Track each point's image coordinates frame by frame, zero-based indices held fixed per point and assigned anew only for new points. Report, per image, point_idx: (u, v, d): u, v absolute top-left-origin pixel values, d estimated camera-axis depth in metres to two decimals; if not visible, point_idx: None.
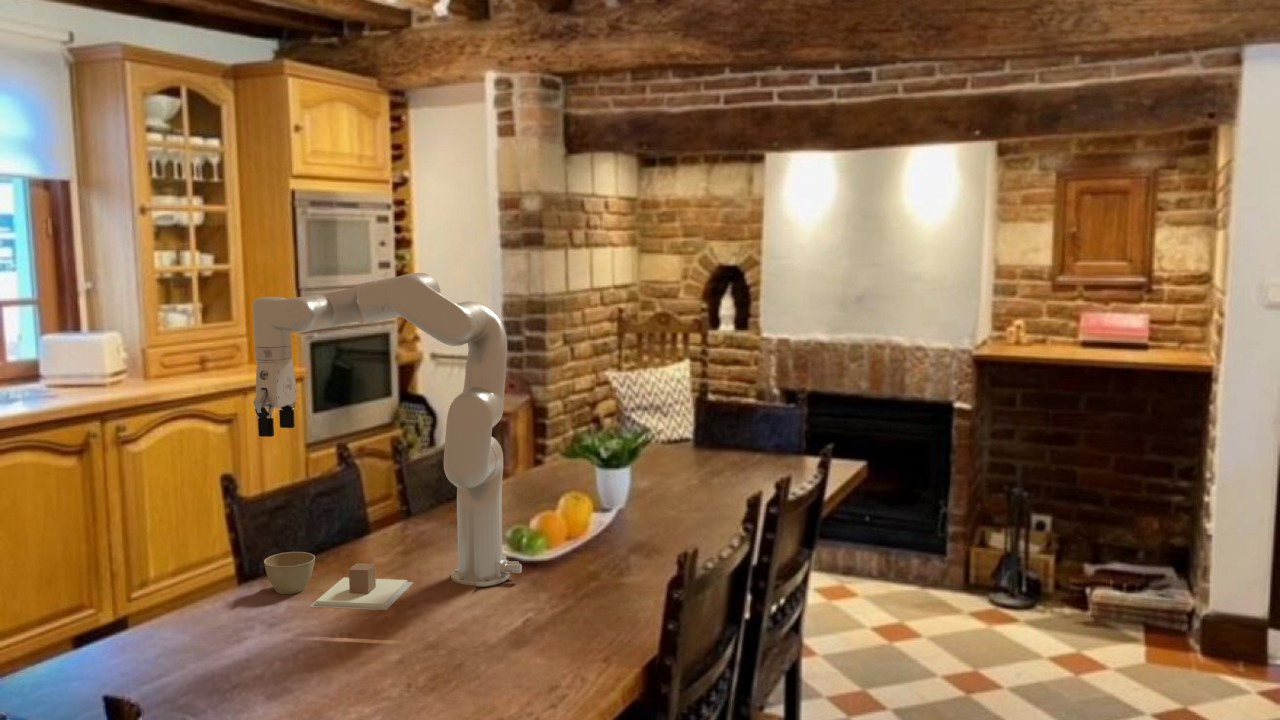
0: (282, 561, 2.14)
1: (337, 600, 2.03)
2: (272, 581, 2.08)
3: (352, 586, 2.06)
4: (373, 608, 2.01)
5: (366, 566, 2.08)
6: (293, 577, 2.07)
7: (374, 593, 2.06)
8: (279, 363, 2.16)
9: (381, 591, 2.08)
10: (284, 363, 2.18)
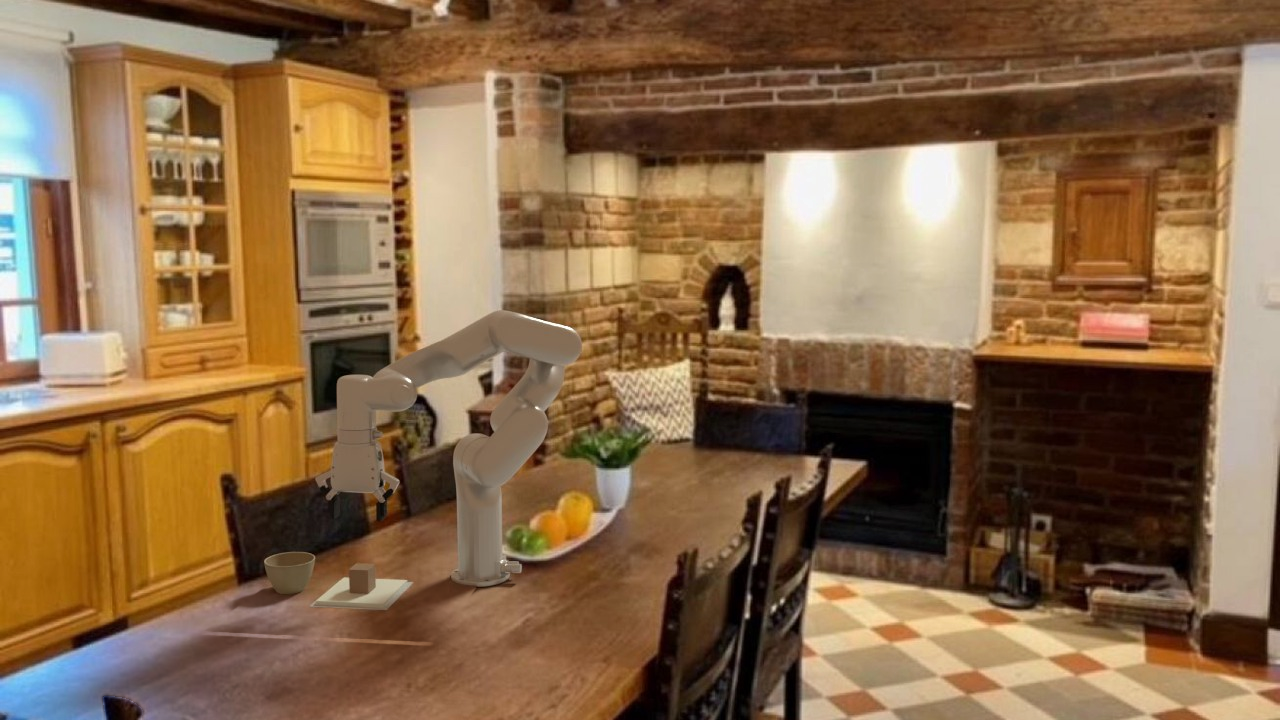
0: (282, 561, 2.14)
1: (337, 600, 2.03)
2: (272, 581, 2.08)
3: (352, 586, 2.06)
4: (373, 608, 2.01)
5: (366, 566, 2.08)
6: (293, 577, 2.07)
7: (374, 593, 2.06)
8: None
9: (381, 591, 2.08)
10: None
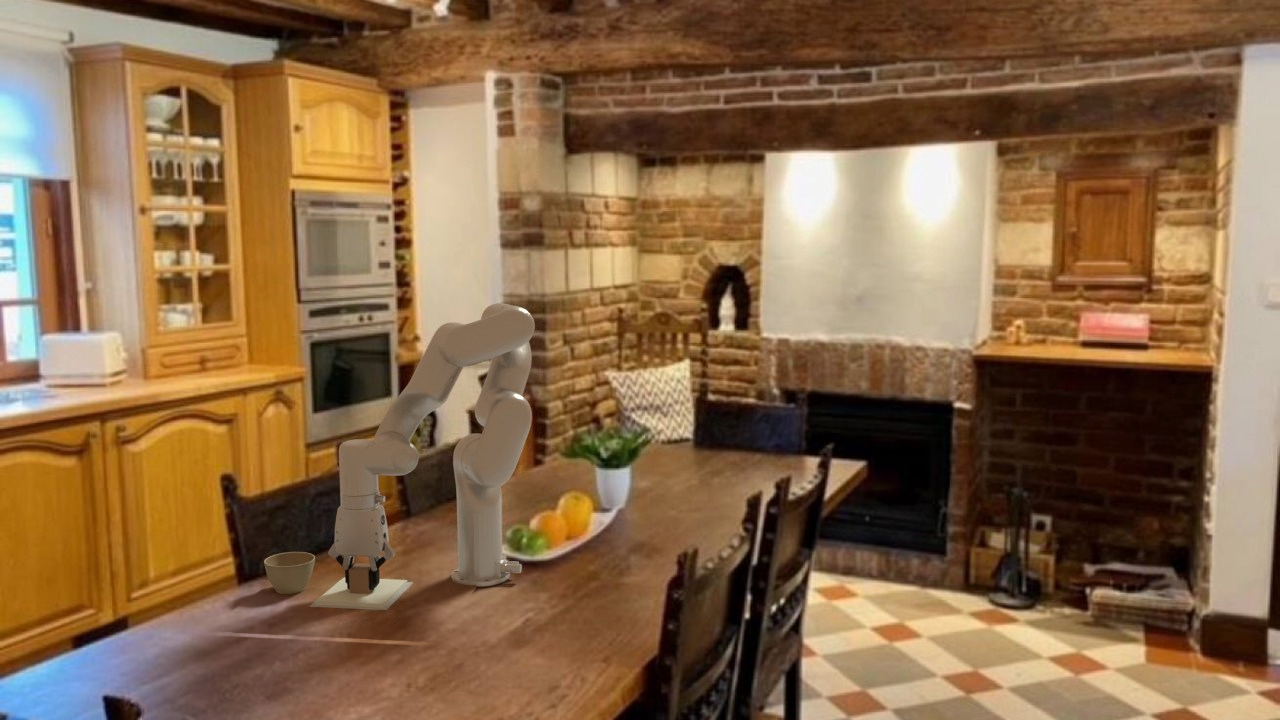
0: (282, 561, 2.14)
1: (337, 600, 2.03)
2: (272, 581, 2.08)
3: (352, 586, 2.06)
4: (373, 608, 2.01)
5: (366, 566, 2.08)
6: (293, 577, 2.07)
7: (374, 593, 2.06)
8: None
9: (381, 591, 2.08)
10: None
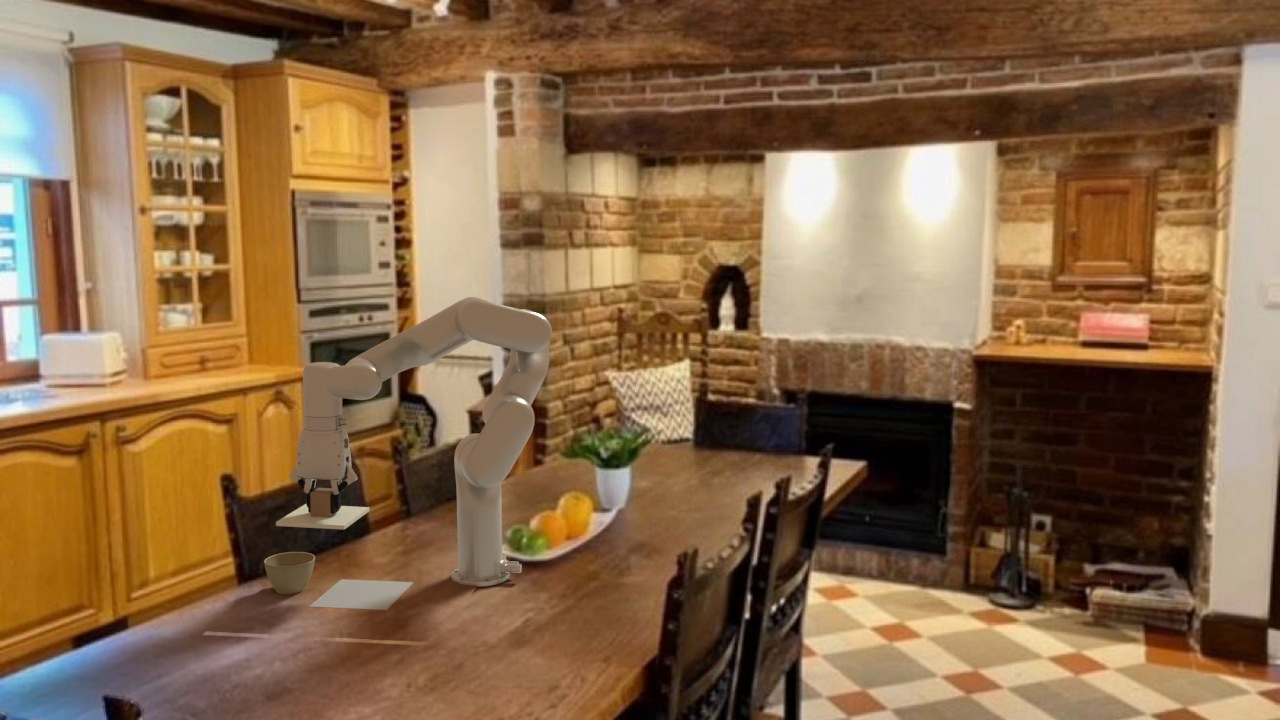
0: (282, 561, 2.14)
1: (298, 522, 2.01)
2: (272, 581, 2.08)
3: (313, 509, 2.05)
4: (373, 608, 2.01)
5: (328, 490, 2.07)
6: (293, 577, 2.07)
7: (335, 517, 2.05)
8: None
9: (342, 515, 2.07)
10: None
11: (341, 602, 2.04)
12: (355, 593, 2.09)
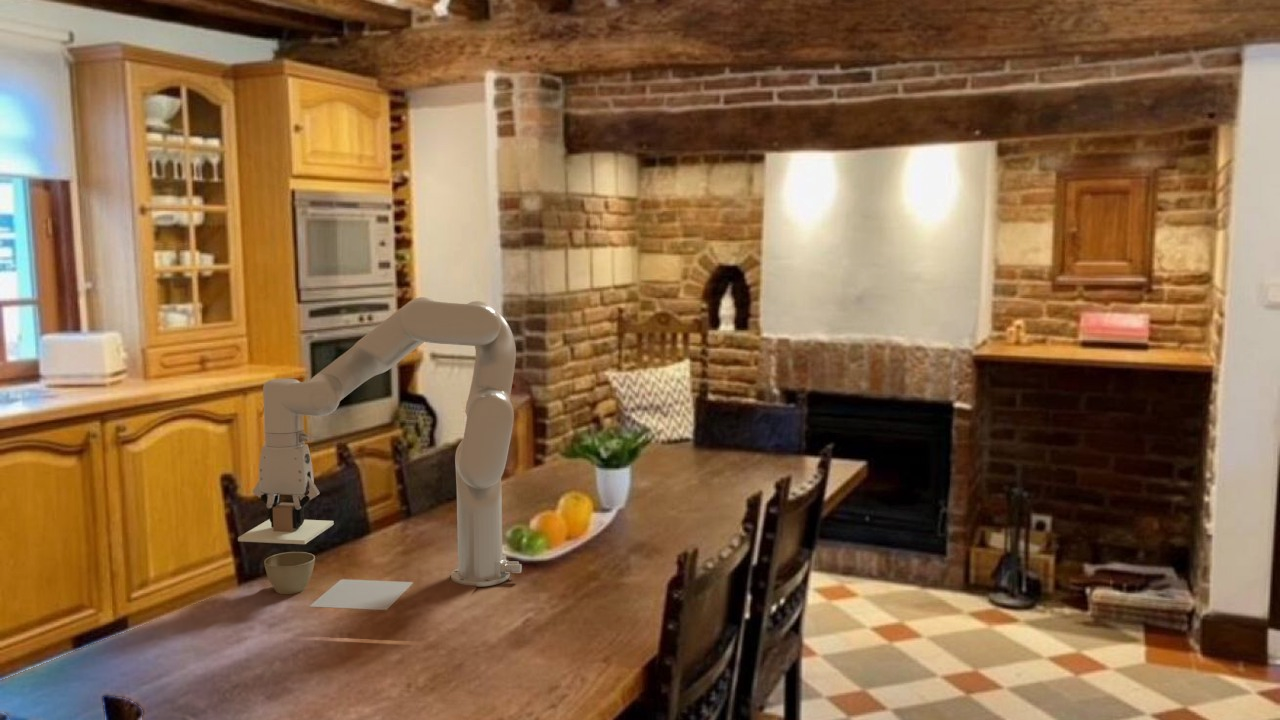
0: (282, 561, 2.14)
1: (259, 537, 2.04)
2: (272, 581, 2.08)
3: (276, 524, 2.08)
4: (373, 608, 2.01)
5: (290, 504, 2.09)
6: (293, 577, 2.07)
7: (298, 532, 2.07)
8: None
9: (305, 530, 2.09)
10: None
11: (341, 602, 2.04)
12: (355, 593, 2.09)
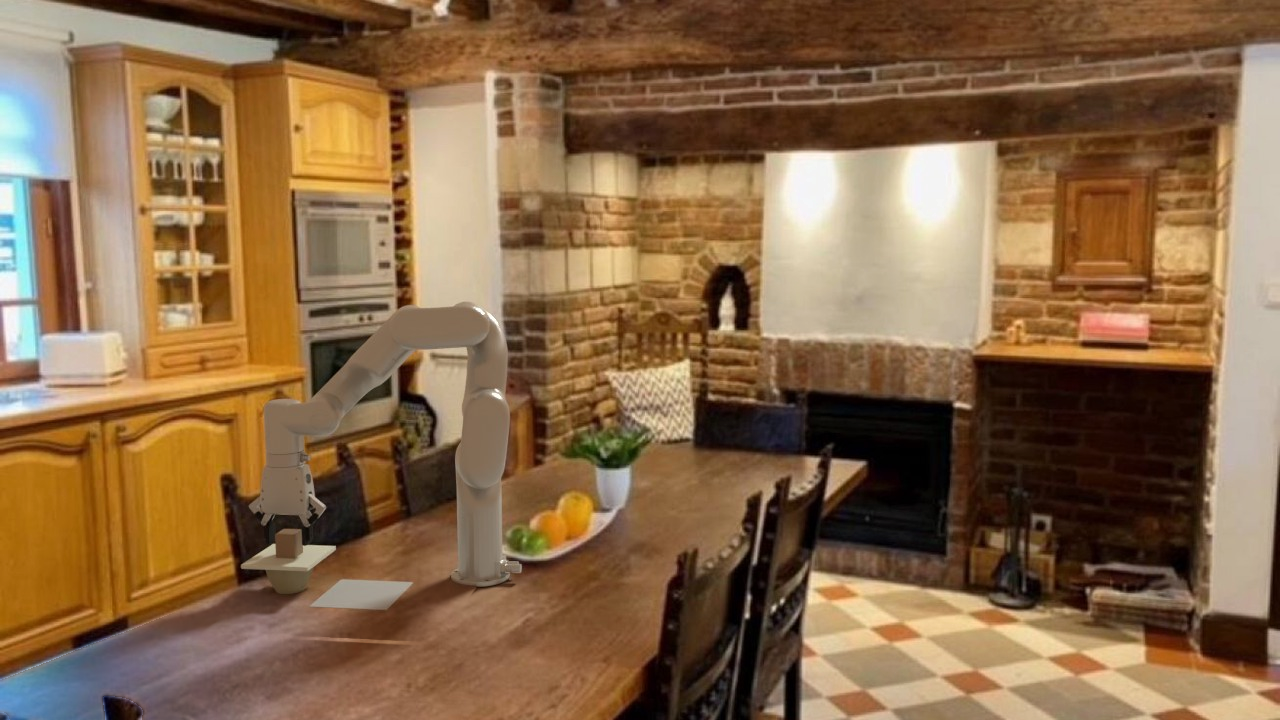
0: None
1: (262, 564, 2.04)
2: (272, 581, 2.08)
3: (278, 551, 2.08)
4: (373, 608, 2.01)
5: (293, 531, 2.10)
6: (293, 577, 2.07)
7: (300, 558, 2.08)
8: None
9: (307, 556, 2.10)
10: None
11: (341, 602, 2.04)
12: (355, 593, 2.09)
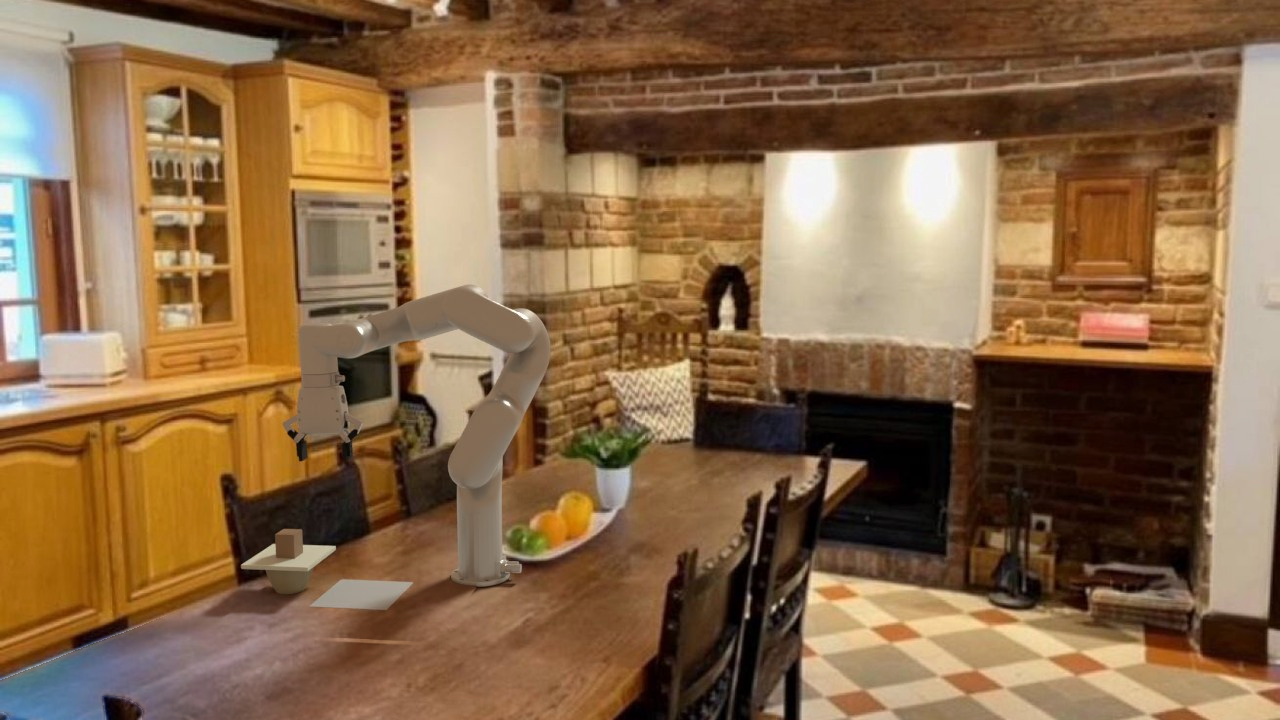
0: None
1: (262, 564, 2.04)
2: (272, 581, 2.08)
3: (278, 551, 2.08)
4: (373, 608, 2.01)
5: (293, 531, 2.10)
6: (293, 577, 2.07)
7: (300, 558, 2.08)
8: None
9: (308, 556, 2.10)
10: None
11: (341, 602, 2.04)
12: (355, 593, 2.09)
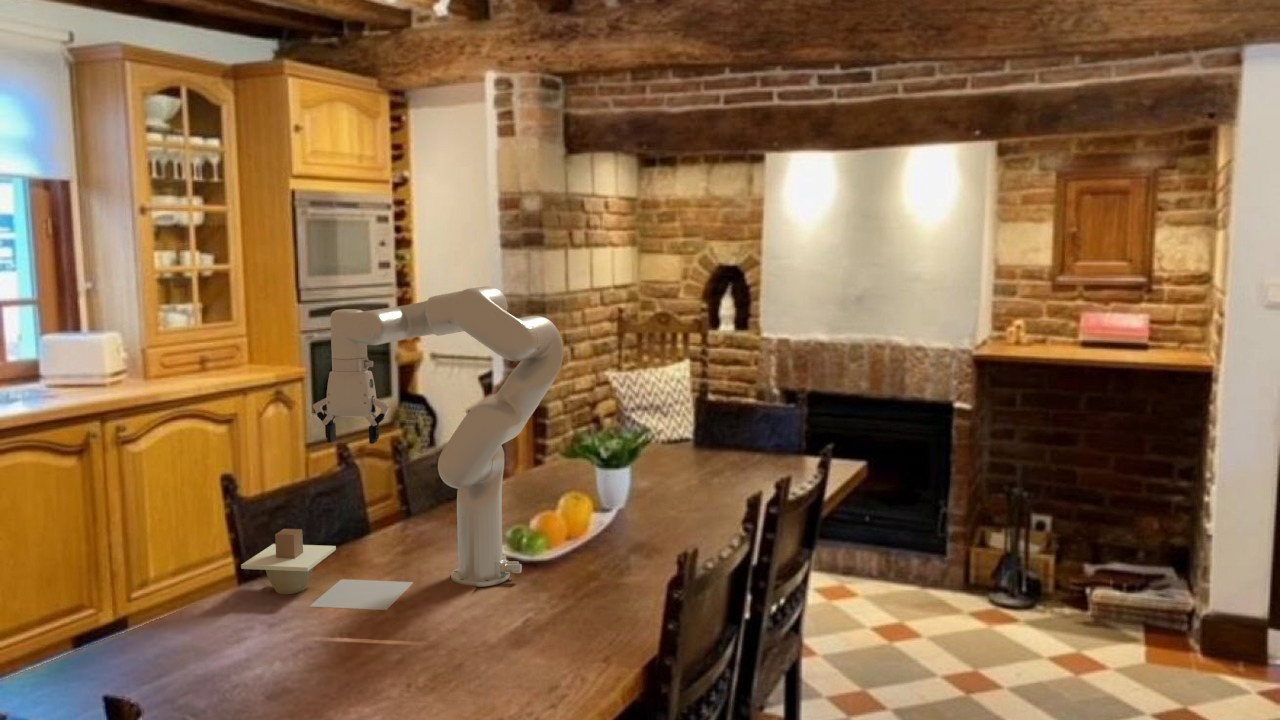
0: None
1: (262, 564, 2.04)
2: (272, 581, 2.08)
3: (278, 551, 2.08)
4: (373, 608, 2.01)
5: (293, 531, 2.10)
6: (293, 577, 2.07)
7: (300, 558, 2.08)
8: None
9: (308, 556, 2.10)
10: None
11: (341, 602, 2.04)
12: (355, 593, 2.09)
